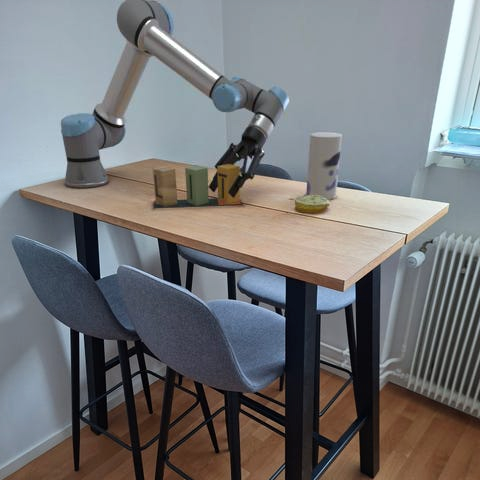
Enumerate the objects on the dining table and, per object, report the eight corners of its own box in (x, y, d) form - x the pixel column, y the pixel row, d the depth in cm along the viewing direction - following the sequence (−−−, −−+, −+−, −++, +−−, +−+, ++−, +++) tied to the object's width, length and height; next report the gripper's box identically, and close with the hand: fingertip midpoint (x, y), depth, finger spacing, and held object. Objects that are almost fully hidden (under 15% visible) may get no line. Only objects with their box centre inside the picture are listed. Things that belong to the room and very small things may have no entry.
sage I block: (186, 202, 151) (184, 167, 146) (198, 199, 154) (197, 165, 149) (196, 206, 148) (195, 170, 142) (208, 202, 151) (207, 167, 146)
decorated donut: (335, 209, 147) (336, 197, 145) (315, 216, 140) (316, 204, 138) (307, 202, 153) (308, 190, 151) (287, 209, 146) (288, 197, 144)
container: (328, 202, 154) (335, 137, 144) (301, 197, 158) (305, 134, 148) (340, 195, 161) (346, 133, 151) (313, 191, 165) (318, 130, 155)
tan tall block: (155, 203, 150) (152, 168, 144) (168, 200, 153) (165, 166, 148) (164, 207, 147) (161, 171, 141) (177, 203, 150) (175, 168, 144)
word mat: (153, 210, 146) (153, 207, 146) (154, 202, 154) (154, 199, 153) (242, 206, 149) (242, 204, 149) (239, 199, 157) (239, 196, 156)
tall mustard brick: (217, 201, 152) (216, 166, 147) (229, 198, 155) (228, 163, 150) (228, 204, 149) (227, 168, 143) (239, 201, 152) (239, 166, 147)
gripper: (228, 121, 154) (192, 179, 152) (276, 128, 141) (238, 191, 139) (239, 137, 160) (205, 192, 158) (287, 145, 146) (250, 205, 145)
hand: (221, 192), depth 148 cm, fingers open, 9 cm apart
